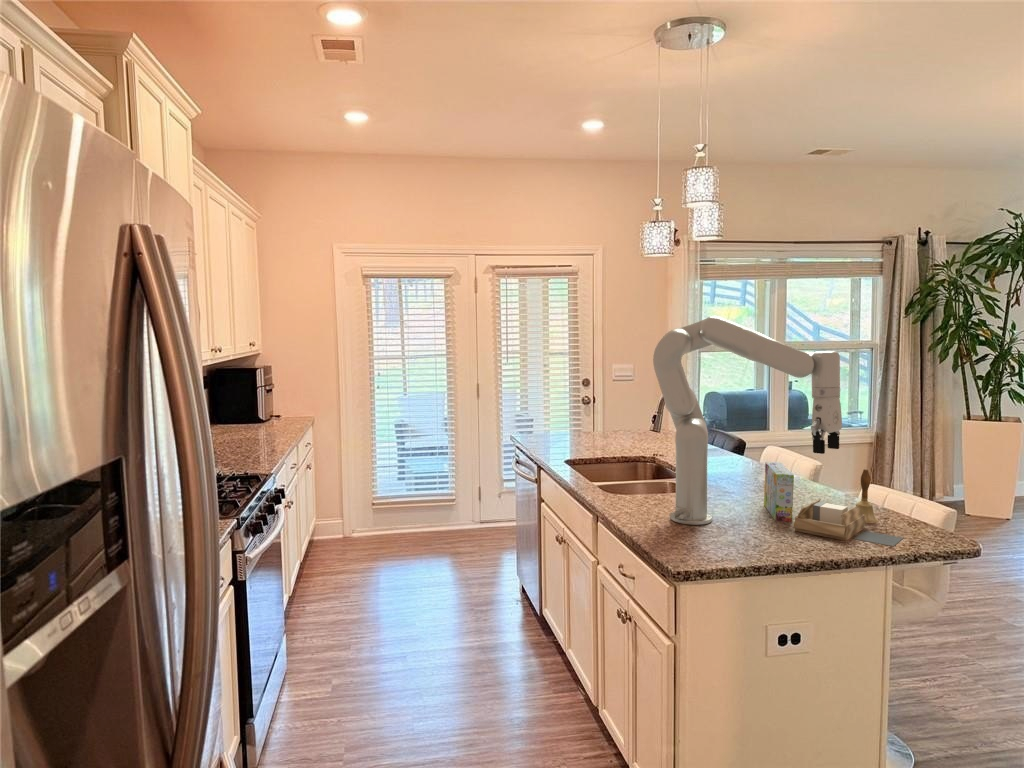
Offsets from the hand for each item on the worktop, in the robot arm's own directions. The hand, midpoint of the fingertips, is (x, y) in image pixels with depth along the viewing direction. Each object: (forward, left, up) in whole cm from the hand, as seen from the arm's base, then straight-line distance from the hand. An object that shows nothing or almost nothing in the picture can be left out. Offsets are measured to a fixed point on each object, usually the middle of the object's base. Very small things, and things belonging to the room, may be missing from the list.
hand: (826, 450), depth 195 cm
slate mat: (-2, -15, -23) cm, 28 cm away
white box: (-2, -2, -23) cm, 23 cm away
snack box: (+7, +17, -24) cm, 30 cm away
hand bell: (+16, -6, -24) cm, 29 cm away
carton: (-2, -2, -23) cm, 23 cm away
